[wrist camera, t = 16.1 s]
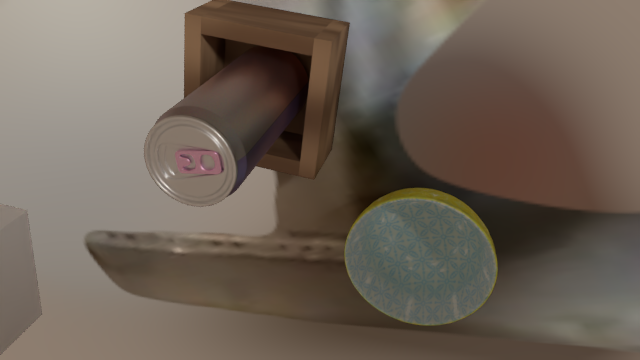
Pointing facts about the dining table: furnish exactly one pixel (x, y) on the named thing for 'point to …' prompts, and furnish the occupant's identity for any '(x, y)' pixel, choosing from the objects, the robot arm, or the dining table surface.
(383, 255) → the bowl
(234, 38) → the wooden box
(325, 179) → the dining table surface
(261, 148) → the beverage can
